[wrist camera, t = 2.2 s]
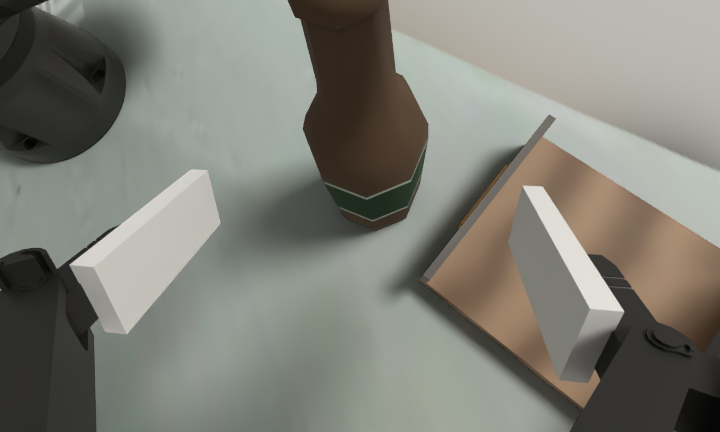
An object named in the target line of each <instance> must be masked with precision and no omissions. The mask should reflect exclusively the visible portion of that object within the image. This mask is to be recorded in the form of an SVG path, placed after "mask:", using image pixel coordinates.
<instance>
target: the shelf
mask: <svg viewBox="0 0 720 432" xmlns="http://www.w3.org/2000/svg"><path fill="white" fill-rule="evenodd" d="M555 119H556V118H554V117H552V116H551V115H548V117H547V118H546V119H545V120H544V122H543V123H542V124H541V125H540V127H539V128H538V129H537V130H536V132H535V133H534V134H533V135H532V137H531V138H530V139H529V141H528V142H527V143H526V144H525V146H524V147H523V148H522V149H521V151H520V152H519V153H518V154H517V156H516V157H515V158H514V160H513V161H512V162H511V163H510V165H506V166H505V167H504V168H503V170H502V171H501V172H500V173H499V175H498V176H497V177H496V178H495V180H494V181H493V182H492V184H491V185H490V186H489V187H488V189H487V190H486V191H485V192H484V194H483V195H482V196H481V198H480V199H479V200H478V201H477V203H476V204H475V205H474V206H473V208H472V209H471V210H470V212H469V213H468V214H467V215H466V217H465V218H464V219H463V220H462V222H461V223H460V224H459V226H458V228H459V230H458V231H457V232H456V233H455V235H454V236H453V237H452V238H451V240H450V241H449V242H448V244H447V245H446V246H445V247H444V249H443V250H442V251H441V252H440V254H439V255H438V256H437V258H436V259H435V260H434V261H433V263H432V264H431V265H430V266H429V268H428V269H427V270H426V272H425V273H424V274H423V275H422V277H421V278H420V279H419V281H420V282H422V283H423V284H424V285H425V286H427V287H428V288H429V289H430V290H432V291H433V292H434V293H435V294H437V295H438V296H439V297H440V298H442V299H443V300H444V301H445V302H447V303H448V304H449V305H450V306H452V307H453V308H454V309H455V310H457V311H458V312H459V313H460V314H462V315H463V316H464V317H465V318H467V319H468V320H469V321H470V322H472V323H473V324H474V325H475V326H477V327H478V328H479V329H480V330H482V331H483V332H484V333H485V334H487V335H488V336H489V337H490V338H492V339H493V340H494V341H495V342H497V343H498V344H499V345H500V346H502V347H503V348H504V349H505V350H506V351H508V352H509V353H510V354H511V355H513V356H514V357H515V358H516V359H518V360H519V361H520V362H521V363H523V364H524V365H525V366H526V367H528V368H529V369H530V370H531V371H533V372H534V373H535V374H536V375H538V376H539V377H540V378H541V379H543V380H544V381H545V382H546V383H548V384H549V385H550V386H551V387H553V388H554V389H555V390H556V391H558V392H559V393H560V394H561V395H563V396H564V397H565V398H566V399H568V400H569V401H570V402H571V403H573V404H574V405H575V406H576V407H578V408H579V409H580V410H581V411H582V410H583V409H584V407H585V405H586V404H587V402H588V400H589V399H590V397H591V395H592V394H593V392H594V390H595V389H596V387H597V385H598V384H599V382H600V379H599V376H598V374H597V372H596V370H594V372H593V374H592V376H591V378H590V380H589V382H588V383H580V382H570V381H561V380H558V377H557V374H556V372H555V369H554V366H553V363H552V361H551V358H550V355H549V353H548V350H547V347H546V344H545V342H544V339H543V336H542V333H541V331H540V328H539V325H538V323H537V320H536V317H535V314H534V312H533V309H532V306H531V304H530V301H529V298H528V295H527V293H526V290H525V287H524V284H523V282H522V279H521V276H520V274H519V271H518V268H517V265H516V263H515V260H514V257H513V255H512V252H511V249H510V246H509V244H508V241H509V237H510V233H511V229H512V225H513V221H514V217H515V213H516V209H517V205H518V201H519V197H520V193H521V189H522V186H542V187H543V188H544V189H545V191H546V192H547V194H548V195H549V197H550V198H551V200H552V202H553V203H554V205H555V206H556V208H557V209H558V211H559V212H560V214H561V215H562V217H563V218H564V220H565V221H566V223H567V224H568V226H569V228H570V229H571V231H572V232H573V234H574V235H575V237H576V238H577V240H578V241H579V243H580V244H581V246H582V247H583V249H584V251H585V252H586V254H596V255H602V256H604V257H605V258H607V259H608V260H609V261H611V262H612V263H613V264H615V265H616V266H617V268H618V269H619V270H620V272H621V273H622V274H623V276H624V277H625V278H624V279H625V280H627V281H628V283H629V284H630V285H631V287H632V289H634V291H635V292H636V294H637V295H638V296H639V298H640V299H641V300H642V302H643V303H644V304H645V306H646V307H647V309H648V310H649V311H650V313H651V314H652V315H653V317H654V318H655V319H656V321H657V322H659V323H662V324H664V325H667V326H670V327H672V328H674V329H675V330H677V331H679V332H681V333H682V334H684V335H685V336H686V337H687V338H688V339H690V340H691V341H692V342H693V343H694V345H695V346H696V348H697V349H698V351H699V352H702V353H705V354H708V355H712V356H715V357H718V358H720V248H718V247H717V246H715V245H713V244H712V243H710V242H709V241H707V240H705V239H704V238H702V237H701V236H699V235H698V234H696V233H694V232H693V231H691V230H690V229H688V228H686V227H685V226H683V225H682V224H680V223H678V222H677V221H675V220H674V219H672V218H671V217H669V216H667V215H666V214H664V213H663V212H661V211H659V210H658V209H656V208H655V207H653V206H652V205H650V204H648V203H647V202H645V201H644V200H642V199H640V198H639V197H637V196H636V195H634V194H632V193H631V192H629V191H628V190H626V189H625V188H623V187H621V186H620V185H618V184H617V183H615V182H613V181H612V180H610V179H609V178H607V177H606V176H604V175H602V174H601V173H599V172H598V171H596V170H594V169H593V168H591V167H590V166H588V165H586V164H585V163H583V162H582V161H580V160H579V159H577V158H575V157H574V156H572V155H571V154H569V153H567V152H566V151H564V150H563V149H561V148H560V147H558V146H556V145H555V144H553V143H552V142H550V141H548V140H547V139H545V138H544V137H542V136H543V135H544V133H545V132H546V131H547V130H548V128H549V127H550V126H551V124H552V123H553V122H554V121H555ZM673 432H676V431H674V430H673Z"/></svg>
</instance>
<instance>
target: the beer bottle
mask: <svg viewBox="0 0 720 432" xmlns="http://www.w3.org/2000/svg"><path fill="white" fill-rule="evenodd" d="M288 2H289V4H290V7H291V9H292V11H293V14H294V16H295V17H296V18H299V19H301V23H302V27H303V31H304V35H305V39H306V43H307V47H308V50H309V54H310V58H311V62H312V66H313V70H314V74H315V78H316V82H317V93H316V95H315V97H314V99H313V101H312V103H311V105H310V107H309V109H308V112H307V114H306V116H305V121H304V126H303V131H304V133H305V136H306V139H307V141H308V144H309V146H310V149H311V152H312V154H313V157H314V159H315V162H316V164H317V167H318V169H319V172H320V174H321V177H322V180H323V182H324V184H325V185H326V187H327V189H328V190H329V192H330V194H331V195H332V197H333V199H334V200H335V202H336V204H337V205H338V207H339V209H340V211H341V212H342V214H343V215H344V216H345V218H346V219H348V220H351V221H353V222H356V223H358V224H361V225H363V226H366V227H368V228H371V229H373V230H379V229H381V228H383V227H386V226H388V225H391V224H393V223H396V222H398V221H400V220H403V219H405V218H406V217H407V214H408V212H409V209H410V207H411V204H412V202H413V200H414V197H415V195H416V192H417V190H418V187H419V184H420V180H421V175H422V169H423V164H424V158H425V153H426V147H427V142H428V123H427V121H426V119H425V117H424V115H423V113H422V111H421V109H420V107H419V105H418V103H417V101H416V99H415V97H414V95H413V93H412V91H411V89H410V87H409V85H408V83H407V82H406V80H405V79H404V77H403V75H400V74H398V73H396V70H395V61H394V52H393V42H392V33H391V24H390V14H389V5H388V0H288Z"/></svg>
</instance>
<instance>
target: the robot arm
mask: <svg viewBox="0 0 720 432" xmlns="http://www.w3.org/2000/svg"><path fill="white" fill-rule="evenodd" d="M45 1H48V0H0V150H2V151H4V152H7V153H9V154H12V155H14V156H17V157H19V158H22V159H24V160H27V161H31V162H38V163H50V162H57V161H61V160H65V159H68V158H70V157H73V156H75V155H77V154H79V153H81V152H83V151H84V150H86V149H87V148H89V147H90V146H92V145H93V144H94V143H95V142H97V141H98V140H99V139H100V138H101V137H102V136H103V135H104V134H105V133H106V132H107V130H108V129H109V128H110V127H111V125H112V124H113V122H114V121H115V119H116V117H117V115H118V113H119V111H120V109H121V106H122V103H123V100H124V96H125V87H126V81H125V74H124V70H123V67H122V65H121V63H120V61H119V59H118V58H117V56H116V55H115V54H114V53H113V52H112V51H111V50H110V49H109V48H108V47H107V46H106V45H104V44H103V43H102V42H101V41H100V40H99V39H98V38H96V37H95V36H94V35H92V34H91V33H89V32H87V31H85V30H83V29H81V28H79V27H77V26H75V25H73V24H71V23H69V22H66V21H64V20H62V19H60V18H58V17H56V16H54V15H52V14H50V13H47V12H45V11H43V10H41V9H39V8H37V7H35V6H36V5H39V4H41V3H43V2H45ZM220 224H221V223H220V219H219V215H218V211H217V207H216V203H215V199H214V195H213V190H212V186H211V182H210V178H209V174H208V170H193V169H191V170H190V171H188V172H187V173H186V174H185V175H183V176H182V177H181V178H179V179H178V180H177V181H176V182H174V183H173V184H172V185H171V186H169V187H168V188H167V189H165V190H164V191H163V192H162V193H160V194H159V195H158V196H156V197H155V198H154V199H153V200H151V201H150V202H149V203H148V204H146V205H145V206H144V207H142V208H141V209H140V210H139V211H137V212H136V213H135V214H134V215H132V216H131V217H130V218H128V219H127V220H126V221H125V222H123V223H122V224H120V225H118V226H116V227H114V228H112V229H109V230H107V231H106V232H105V233H104V234H102V235H101V236H100V237H98V238H97V239H96V241H93V242H92V243H91V244H89V245H88V246H87V248H84V249H83V250H81V251H80V252H79V253H78V254H76V255H75V256H74V257H72V258H71V259H70V260H68V261H67V262H66V263H65V264H63V265H62V266H61V267H59V268H58V269H56V267H55V265H54V263H53V261H52V260H51V258H50V256H49V254H48V253H47V251H46V250H45V249H42V248H29V249H24V250H20V251H17V252H14V253H11V254H9V255H7V256H5V257H2V258H0V288H1V290H2V291H0V432H96V401H95V363H94V335H93V333H92V331H91V329H90V327H91V326H92V324H93V323H94V322H95V321H96V320H97V319H98V320H99V321H100V323H101V325H102V327H103V329H104V331H105V332H110V333H119V334H128V332H129V331H130V330H131V329H132V328H133V327H134V325H135V324H136V323H137V322H138V321H139V319H140V318H141V317H142V316H143V315H144V314H145V312H146V311H147V310H148V309H149V308H150V306H151V305H152V304H153V303H154V302H155V301H156V299H157V298H158V297H159V296H160V295H161V294H162V292H163V291H164V290H165V289H166V288H167V286H168V285H169V284H170V283H171V282H172V281H173V279H174V278H175V277H176V276H177V275H178V273H179V272H180V271H181V270H182V269H183V268H184V266H185V265H186V264H187V263H188V262H189V260H190V259H191V258H192V257H193V256H194V255H195V253H196V252H197V251H198V250H199V249H200V247H201V246H202V245H203V244H204V243H205V242H206V240H207V239H208V238H209V237H210V236H211V234H212V233H213V232H214V231H215V230H216V229H217V227H218V226H219V225H220ZM508 244H509V246H510V249H511V252H512V255H513V257H514V260H515V263H516V265H517V268H518V271H519V274H520V276H521V279H522V282H523V284H524V287H525V290H526V293H527V295H528V298H529V301H530V304H531V306H532V309H533V312H534V314H535V317H536V320H537V323H538V325H539V328H540V331H541V333H542V336H543V339H544V342H545V344H546V347H547V350H548V353H549V355H550V358H551V361H552V363H553V366H554V369H555V372H556V374H557V377H558V380H561V381H570V382H580V383H588V382H589V380H590V378H591V376H592V374H593V372H594V370H596V372H597V374H598V376H599V379H600V382H599V384H598V385H597V387H596V389H595V390H594V392H593V394H592V395H591V397H590V399H589V400H588V402H587V404H586V405H585V407H584V409H583V410H582V412H581V414H580V415H579V417H578V419H577V420H576V422H575V424H574V425H573V427H572V429H571V430H570V432H673V430H674V431H676V432H720V358H718V357H715V356H712V355H708V354H705V353H702V352H699V351H698V349H697V348H696V346H695V345H694V343H693V342H692V341H691V340H690V339H688V338H687V337H686V336H685V335H684V334H682V333H681V332H679V331H677V330H675V329H674V328H672V327H670V326H667V325H664V324H662V323H659V322H657V321H656V319H655V318H654V317H653V315H652V314H651V313H650V311H649V310H648V309H647V307H646V306H645V304H644V303H643V302H642V300H641V299H640V298H639V296H638V295H637V294H636V292H635V291H634V289H632V287H631V285H630V284H629V283H628V281H627V280H625V279H624V278H625V277H624V276H623V274H622V273H621V272H620V270H619V269H618V268H617V266H616V265H615V264H613V263H612V262H611V261H609V260H608V259H607V258H605V257H604V256H602V255H596V254H586V252H585V251H584V249H583V247H582V246H581V244H580V243H579V241H578V240H577V238H576V237H575V235H574V234H573V232H572V231H571V229H570V228H569V226H568V224H567V223H566V221H565V220H564V218H563V217H562V215H561V214H560V212H559V211H558V209H557V208H556V206H555V205H554V203H553V202H552V200H551V198H550V197H549V195H548V194H547V192H546V191H545V189H544V188H543V187H542V186H522V189H521V193H520V197H519V201H518V205H517V209H516V213H515V217H514V221H513V225H512V229H511V233H510V237H509V241H508Z"/></svg>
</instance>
